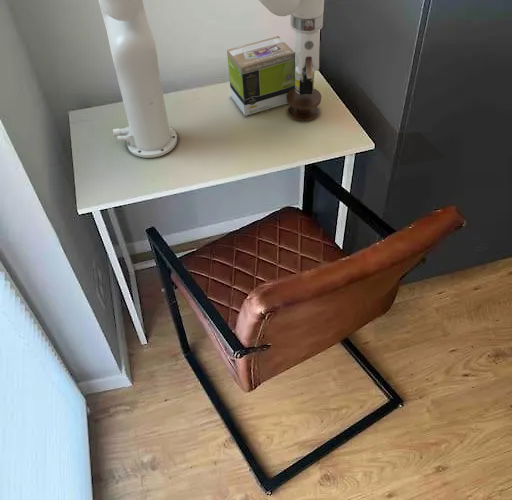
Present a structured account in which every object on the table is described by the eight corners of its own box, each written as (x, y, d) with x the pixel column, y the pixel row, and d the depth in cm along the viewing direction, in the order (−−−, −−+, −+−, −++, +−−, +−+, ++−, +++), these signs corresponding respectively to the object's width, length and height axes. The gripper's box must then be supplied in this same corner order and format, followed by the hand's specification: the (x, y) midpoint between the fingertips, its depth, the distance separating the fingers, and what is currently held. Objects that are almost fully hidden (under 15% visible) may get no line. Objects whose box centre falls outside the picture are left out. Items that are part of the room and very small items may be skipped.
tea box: (279, 83, 162) (279, 34, 150) (295, 102, 155) (297, 52, 144) (229, 97, 158) (226, 47, 147) (244, 117, 152) (241, 67, 141)
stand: (288, 124, 149) (288, 107, 146) (284, 103, 155) (284, 87, 152) (322, 121, 150) (324, 105, 146) (317, 101, 156) (318, 85, 152)
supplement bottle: (314, 85, 148) (316, 56, 142) (312, 96, 145) (313, 66, 139) (296, 84, 149) (297, 54, 143) (293, 94, 146) (294, 64, 140)
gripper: (329, 36, 128) (324, 106, 141) (317, 0, 139) (314, 68, 152) (295, 39, 127) (293, 108, 141) (286, 2, 138) (285, 70, 152)
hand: (304, 86), depth 147 cm, fingers closed on supplement bottle, 4 cm apart
